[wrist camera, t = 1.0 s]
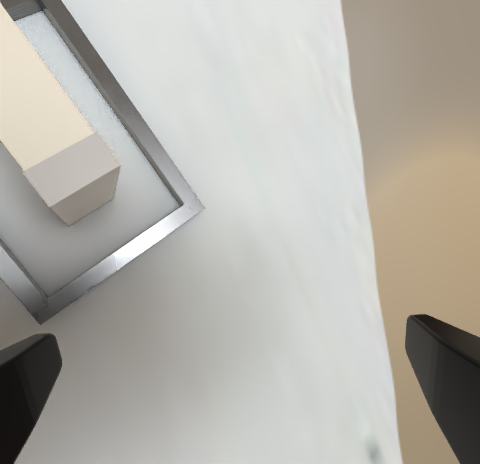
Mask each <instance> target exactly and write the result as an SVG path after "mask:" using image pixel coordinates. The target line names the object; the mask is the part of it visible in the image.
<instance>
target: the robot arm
mask: <svg viewBox="0 0 480 464" xmlns="http://www.w3.org/2000/svg"><path fill="white" fill-rule="evenodd" d="M405 348H406V353H407V355H408V358H409V360H410V363H411V365H412V368H413V370H414V372H415V375H416V377H417V379H418V382H419V384H420V386H421V389H422V391H423V394H424V396H425V398H426V400H427V403H428V405H429V407H430V409H431V411H432V414H433V415H434V417H435V419H436V421H437V423H438V425H439V427H440V428H441V430H442V432H443V434H444V436H445V437H446V439H447V441H448V443H449V444H450V446H451V448H452V450H453V452H454V453H455V455H456V457H457V459H458V461H459V463H460V464H480V337H477V336H475V335H473V334H470V333H468V332H466V331H463V330H461V329H459V328H457V327H454V326H452V325H450V324H447V323H445V322H442V321H440V320H438V319H436V318H434V317H431V316H429V315H426V314H419V315H410V316H409V317H408V318H407V324H406V339H405ZM61 367H62V359H61V355H60V351H59V348H58V344H57V340H56V337H55V336H54V335H53V334H51V333H46V334H36V335H33V336H31V337H29V338H27V339H25V340H22V341H20V342H18V343H16V344H14V345H12V346H9V347H7V348H5V349H3V350H1V351H0V464H14V462H15V461H16V459H17V457H18V455H19V454H20V452H21V450H22V448H23V447H24V445H25V443H26V441H27V440H28V438H29V436H30V434H31V432H32V431H33V429H34V427H35V425H36V423H37V421H38V419H39V417H40V415H41V412H42V410H43V408H44V406H45V404H46V401H47V399H48V397H49V395H50V393H51V390H52V388H53V386H54V384H55V382H56V379H57V377H58V375H59V373H60V370H61Z"/></svg>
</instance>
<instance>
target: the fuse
mask: <svg viewBox="0 0 480 464" xmlns="http://www.w3.org/2000/svg"><path fill="white" fill-rule="evenodd" d="M0 141H1V143H2V144H3V145H4V146H5V147H6V148H7V149H8V151H9V152H10V153H11V155H12V156H13V157H14V158H15V160H16V161H17V162H18V164H19V165H20V166H21V167H22V169H23V170H24V171H23V172H22V173H23V175H24V176H25V177H26V178H27V180H28V181H29V182H30V184H31V185H32V186H33V187H34V189H35V190H36V191H37V193H38V194H39V195H40V196H41V198H42V199H43V200H44V202H45V203H46V204H47V205H48V207H49V208H50V209H51V210H52V211H53V212H55V213H56V214H57V215H58V216H59V217H60V218H61V219H62V220H63V221H64V222H65V223H66V224H67V225H68V226H70V225H72V224H74V223H75V222H77V221H78V220H80V219H82V218H83V217H85V216H86V215H88V214H90V213H91V212H93V211H94V210H96V209H98V208H99V207H101V206H102V205H104V204H106V203H107V202H109V201H110V200H112V199H114V194H115V189H116V185H117V180H118V175H119V171H120V166H121V165H120V163H119V162H118V160H117V159H116V158H115V156H114V155H113V154H112V152H111V151H110V149H109V148H108V147H107V145H106V144H105V142H104V141H103V140H102V138H101V137H100V136H99V134H98V133H97V132H95V133H94V131H93V130H92V129H91V127H90V126H89V125H88V123H87V122H86V120H85V119H84V118H83V116H82V115H81V113H80V112H79V111H78V109H77V108H76V107H75V105H74V104H73V102H72V101H71V100H70V98H69V97H68V96H67V94H66V93H65V91H64V90H63V89H62V87H61V86H60V84H59V83H58V82H57V80H56V79H55V78H54V76H53V75H52V73H51V72H50V71H49V69H48V68H47V67H46V65H45V64H44V62H43V61H42V60H41V58H40V57H39V55H38V54H37V53H36V51H35V50H34V49H33V47H32V46H31V44H30V43H29V42H28V40H27V39H26V38H25V36H24V35H23V33H22V32H21V31H20V29H19V28H18V27H17V25H16V24H15V22H14V21H13V20H12V18H11V17H10V15H9V14H8V13H7V11H6V10H5V9H4V7H3V6H2V4H1V1H0Z"/></svg>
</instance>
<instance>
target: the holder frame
mask: <svg viewBox="0 0 480 464" xmlns="http://www.w3.org/2000/svg"><path fill="white" fill-rule="evenodd" d="M0 1H1V4H2V6H3V7H4V9H5V10H6V11H7V13H8V14H9V15H10V17H11V18H12V20H13V21H15V20H17V19H20V18H23V17H25V16H28V15H30V14H33V13H36V12H38V11H41V10H43V12H44V13H45V14H46V16H47V17H48V19H49V20H50V21H51V23H52V24H53V26H54V27H55V29H56V30H57V31H58V33H59V34H60V36H61V37H62V38H63V40H64V41H65V43H66V44H67V46H68V47H69V48H70V50H71V51H72V53H73V54H74V55H75V57H76V58H77V60H78V61H79V63H80V64H81V65H82V67H83V68H84V70H85V71H86V72H87V74H88V75H89V77H90V78H91V80H92V81H93V82H94V84H95V85H96V87H97V88H98V90H99V91H100V92H101V94H102V95H103V97H104V98H105V99H106V101H107V102H108V104H109V105H110V107H111V108H112V109H113V111H114V112H115V114H116V115H117V116H118V118H119V119H120V121H121V122H122V124H123V125H124V126H125V128H126V129H127V131H128V132H129V133H130V135H131V136H132V138H133V139H134V141H135V142H136V143H137V145H138V146H139V148H140V149H141V150H142V152H143V153H144V155H145V156H146V158H147V159H148V160H149V162H150V163H151V165H152V166H153V167H154V169H155V170H156V172H157V173H158V175H159V176H160V177H161V179H162V180H163V182H164V183H165V184H166V186H167V187H168V189H169V190H170V192H171V193H172V194H173V196H174V197H175V199H176V200H177V201H178V203H179V204H180V206H181V207H180V208H178V209H177V210H175V211H174V212H172V213H171V214H169V215H168V216H166V217H165V218H164V219H162V220H161V221H159V222H158V223H156V224H155V225H153V226H152V227H150V228H149V229H148V230H146V231H145V232H143V233H142V234H140V235H139V236H137V237H136V238H134V239H133V240H132V241H130V242H129V243H127V244H126V245H124V246H123V247H121V248H120V249H118V250H117V251H115V252H114V253H113V254H111V255H110V256H108V257H107V258H105V259H104V260H102V261H101V262H99V263H98V264H97V265H95V266H94V267H92V268H91V269H89V270H88V271H86V272H85V273H83V274H82V275H81V276H79V277H78V278H76V279H75V280H73V281H72V282H70V283H69V284H67V285H66V286H65V287H63V288H62V289H60V290H59V291H57V292H56V293H54V294H53V295H51V296H50V297H49V298H48V296H47V295H46V294H45V293H44V292H43V290H42V289H41V288H40V287H39V286H38V284H37V283H36V282H35V281H34V279H33V278H32V277H31V276H30V275H29V273H28V272H27V271H26V270H25V269H24V267H23V266H22V265H21V264H20V262H19V261H18V260H17V259H16V258H15V256H14V255H13V254H12V253H11V252H10V250H9V249H8V248H7V247H6V246H5V244H4V243H3V242H2V241H1V239H0V278H1V279H2V280H3V281H4V282H5V284H6V285H7V286H8V287H9V288H10V289H11V291H12V292H13V293H14V294H15V295H16V297H17V298H18V299H19V300H20V301H21V303H22V304H23V305H24V306H25V307H26V308H27V310H28V311H29V312H30V313H31V314H32V316H33V317H34V318H35V319H36V320H37V322H38V323H39V324H40V325H41V324H42V323H44V322H45V321H47V320H48V319H50V318H51V317H52V316H54V315H55V314H57V313H58V312H59V311H61V310H62V309H64V308H65V307H66V306H68V305H69V304H71V303H72V302H73V301H75V300H76V299H78V298H79V297H81V296H82V295H83V294H85V293H86V292H88V291H89V290H90V289H92V288H93V287H95V286H96V285H97V284H99V283H100V282H102V281H103V280H104V279H106V278H107V277H109V276H110V275H112V274H113V273H114V272H116V271H117V270H119V269H120V268H121V267H123V266H124V265H126V264H127V263H128V262H130V261H131V260H133V259H134V258H135V257H137V256H138V255H140V254H141V253H143V252H144V251H145V250H147V249H148V248H150V247H151V246H152V245H154V244H155V243H157V242H158V241H159V240H161V239H162V238H164V237H165V236H166V235H168V234H169V233H171V232H172V231H174V230H175V229H176V228H178V227H179V226H181V225H182V224H183V223H185V222H186V221H188V220H189V219H190V218H192V217H193V216H195V215H196V214H198V213H199V212H200V211H202V210H203V209H205V207H204V206H203V205H202V203H201V202H200V200H199V199H198V197H197V196H196V194H195V193H194V192H193V190H192V189H191V187H190V186H189V184H188V183H187V181H186V180H185V179H184V177H183V176H182V174H181V173H180V171H179V170H178V168H177V167H176V166H175V164H174V163H173V161H172V160H171V158H170V157H169V155H168V154H167V153H166V151H165V150H164V148H163V147H162V145H161V144H160V142H159V141H158V140H157V138H156V137H155V135H154V134H153V132H152V131H151V129H150V128H149V127H148V125H147V124H146V122H145V121H144V119H143V118H142V116H141V115H140V114H139V112H138V111H137V109H136V108H135V106H134V105H133V103H132V102H131V101H130V99H129V98H128V96H127V95H126V93H125V92H124V90H123V89H122V88H121V86H120V85H119V83H118V82H117V80H116V79H115V77H114V76H113V75H112V73H111V72H110V70H109V69H108V67H107V66H106V64H105V63H104V62H103V60H102V59H101V57H100V56H99V54H98V53H97V51H96V50H95V49H94V47H93V46H92V44H91V43H90V41H89V40H88V38H87V37H86V36H85V34H84V33H83V31H82V30H81V28H80V27H79V25H78V24H77V23H76V21H75V20H74V18H73V17H72V15H71V14H70V12H69V11H68V10H67V8H66V7H65V5H64V4H63V2H62V1H61V0H0Z"/></svg>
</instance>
